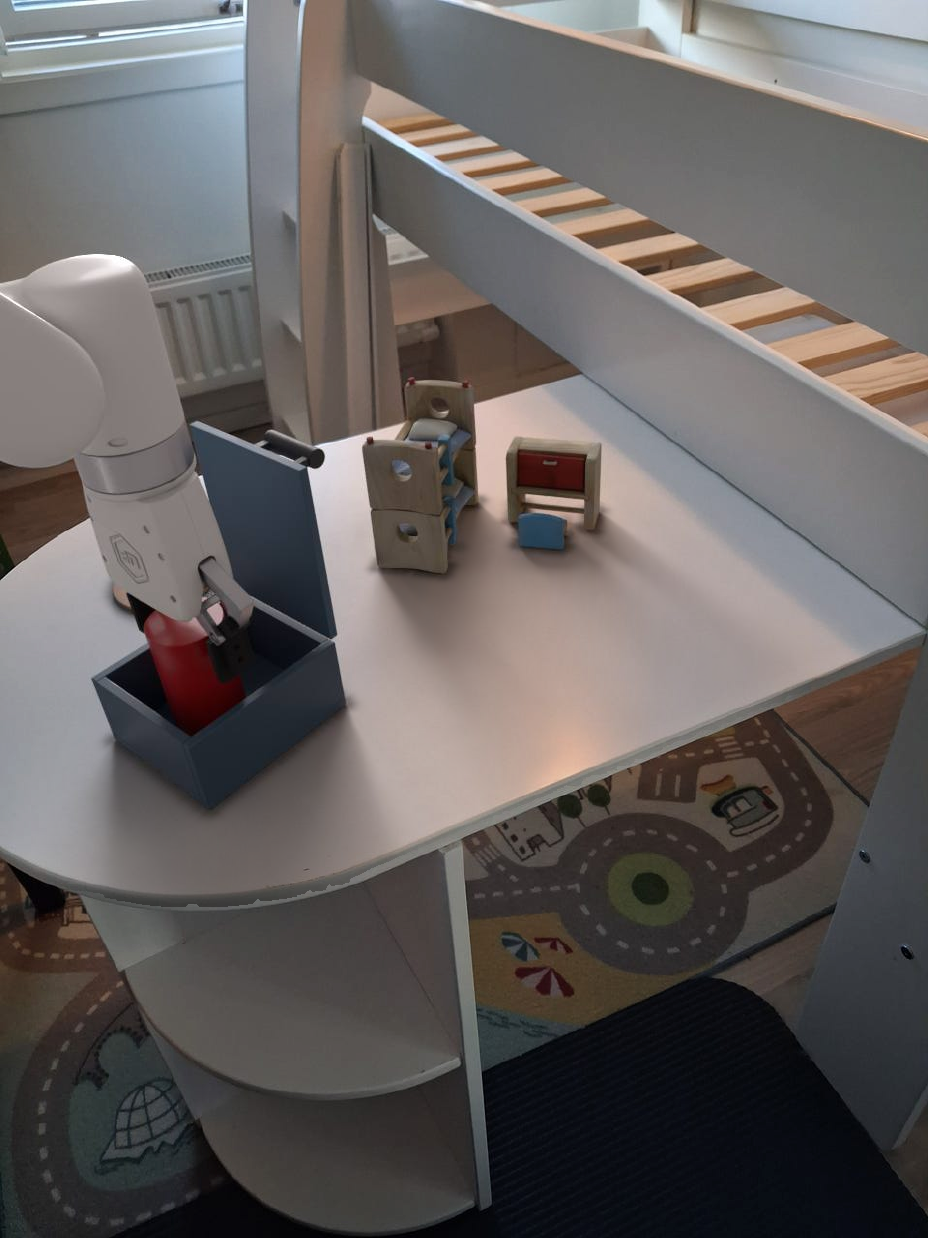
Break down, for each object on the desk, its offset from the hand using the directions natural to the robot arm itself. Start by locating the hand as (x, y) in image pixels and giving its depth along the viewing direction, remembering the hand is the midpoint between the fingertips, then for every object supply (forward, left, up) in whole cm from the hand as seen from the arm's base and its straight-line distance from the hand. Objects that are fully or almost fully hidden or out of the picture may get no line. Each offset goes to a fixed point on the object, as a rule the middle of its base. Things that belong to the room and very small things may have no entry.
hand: (196, 647), depth 76 cm
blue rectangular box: (+1, 0, -9) cm, 9 cm away
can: (0, 0, -8) cm, 8 cm away
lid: (+8, +3, +6) cm, 10 cm away
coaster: (+2, +23, -9) cm, 25 cm away
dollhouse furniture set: (+33, +11, -9) cm, 36 cm away
